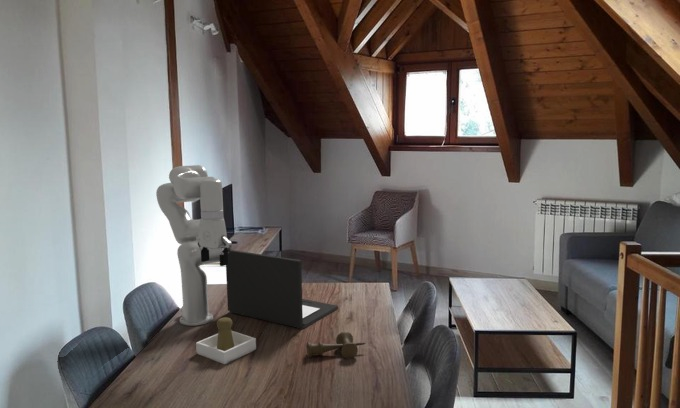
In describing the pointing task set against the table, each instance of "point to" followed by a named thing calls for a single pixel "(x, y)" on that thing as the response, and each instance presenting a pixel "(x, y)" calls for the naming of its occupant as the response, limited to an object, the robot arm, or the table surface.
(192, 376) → the table surface
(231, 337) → the cork
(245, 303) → the laptop
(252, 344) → the box
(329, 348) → the kendama
